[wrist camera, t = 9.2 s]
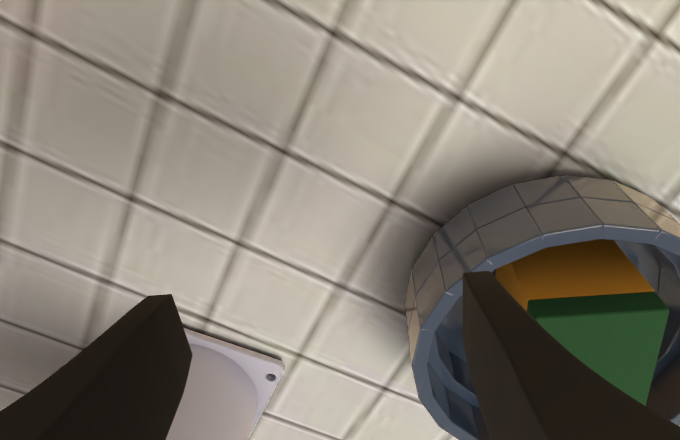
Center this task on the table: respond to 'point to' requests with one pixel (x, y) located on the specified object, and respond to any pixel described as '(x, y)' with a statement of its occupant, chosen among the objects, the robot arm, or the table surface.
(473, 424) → the bowl
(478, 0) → the table surface
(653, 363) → the sponge
